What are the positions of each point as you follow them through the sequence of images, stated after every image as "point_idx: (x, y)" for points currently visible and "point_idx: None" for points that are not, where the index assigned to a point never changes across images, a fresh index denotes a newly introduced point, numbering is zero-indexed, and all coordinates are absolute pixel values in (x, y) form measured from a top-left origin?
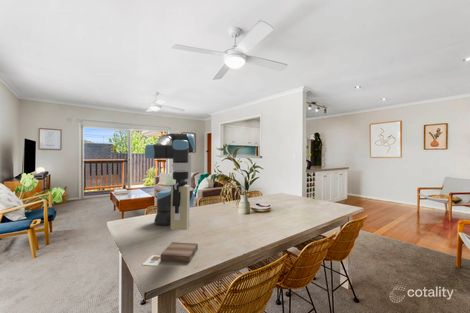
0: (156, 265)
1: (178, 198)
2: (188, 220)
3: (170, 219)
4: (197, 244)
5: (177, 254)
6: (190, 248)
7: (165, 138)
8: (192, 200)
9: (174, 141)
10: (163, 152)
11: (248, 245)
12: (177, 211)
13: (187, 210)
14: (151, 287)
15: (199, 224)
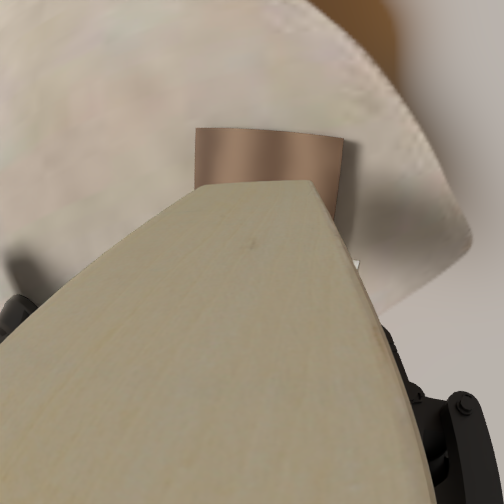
0: (358, 263)
1: (471, 499)
2: (221, 193)
3: (25, 317)
4: (200, 128)
5: (326, 199)
6: (258, 150)
7: None
8: None
9: None
10: None
11: None
12: (393, 344)
13: (289, 229)
14: (464, 234)
15: (2, 205)
